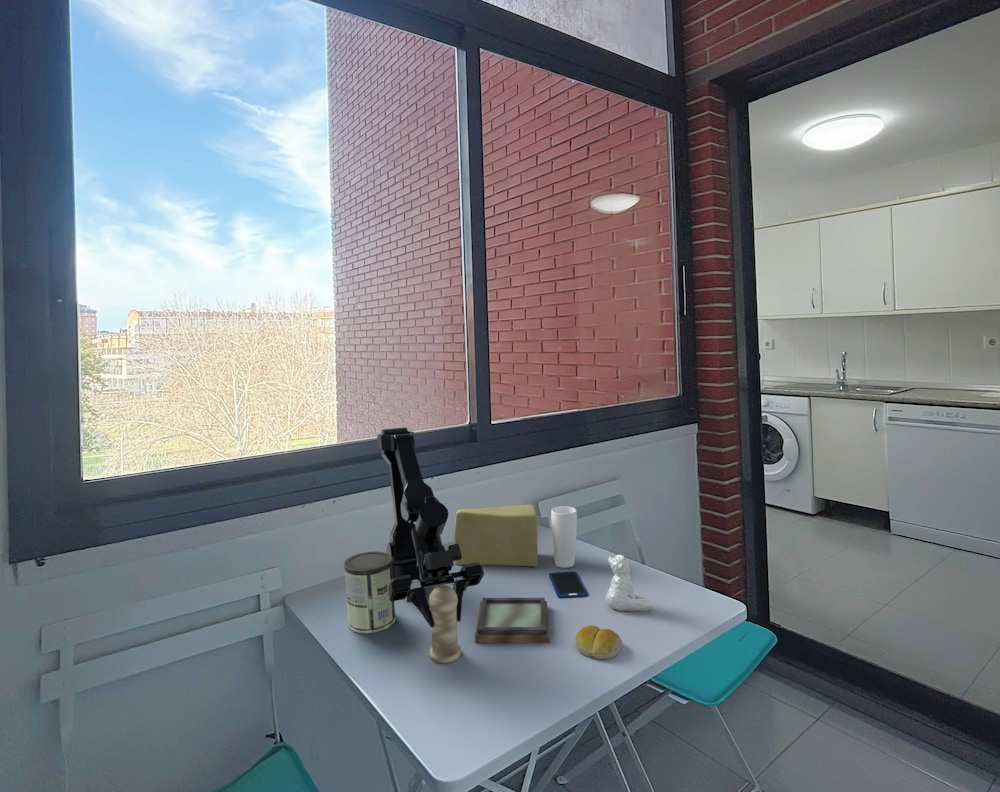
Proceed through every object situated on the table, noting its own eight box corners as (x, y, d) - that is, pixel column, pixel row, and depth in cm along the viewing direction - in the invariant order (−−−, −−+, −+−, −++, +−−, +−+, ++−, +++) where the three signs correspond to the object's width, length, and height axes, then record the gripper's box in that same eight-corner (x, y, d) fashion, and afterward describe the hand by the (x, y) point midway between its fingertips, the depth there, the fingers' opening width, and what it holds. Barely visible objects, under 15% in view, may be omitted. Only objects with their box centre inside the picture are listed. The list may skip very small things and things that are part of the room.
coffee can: (364, 607, 137) (360, 549, 135) (404, 613, 133) (401, 553, 131) (337, 630, 127) (334, 567, 125) (380, 637, 124) (376, 572, 122)
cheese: (454, 571, 155) (452, 516, 153) (455, 557, 165) (453, 504, 163) (538, 568, 156) (537, 513, 154) (534, 553, 166) (533, 501, 164)
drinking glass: (576, 570, 154) (576, 514, 152) (550, 569, 155) (549, 513, 153) (578, 560, 160) (577, 506, 158) (553, 558, 162) (552, 505, 160)
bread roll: (584, 633, 123) (584, 615, 123) (625, 645, 119) (625, 626, 118) (567, 652, 116) (566, 633, 116) (610, 665, 112) (610, 645, 111)
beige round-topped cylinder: (427, 663, 114) (424, 594, 112) (432, 646, 119) (429, 580, 118) (458, 663, 113) (456, 593, 111) (462, 646, 119) (459, 580, 117)
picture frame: (475, 642, 121) (474, 631, 120) (480, 607, 135) (480, 596, 135) (549, 642, 120) (549, 630, 119) (546, 607, 135) (546, 596, 134)
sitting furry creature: (652, 611, 132) (653, 559, 130) (620, 619, 128) (620, 566, 127) (627, 593, 140) (628, 544, 139) (596, 601, 137) (596, 551, 136)
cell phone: (558, 600, 139) (558, 597, 139) (548, 575, 152) (548, 572, 152) (589, 598, 139) (589, 595, 139) (576, 573, 153) (576, 570, 153)
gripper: (388, 538, 114) (403, 619, 105) (479, 524, 120) (501, 599, 112) (382, 562, 122) (396, 639, 113) (468, 548, 129) (487, 619, 120)
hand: (446, 623), depth 114 cm, fingers closed on beige round-topped cylinder, 5 cm apart
